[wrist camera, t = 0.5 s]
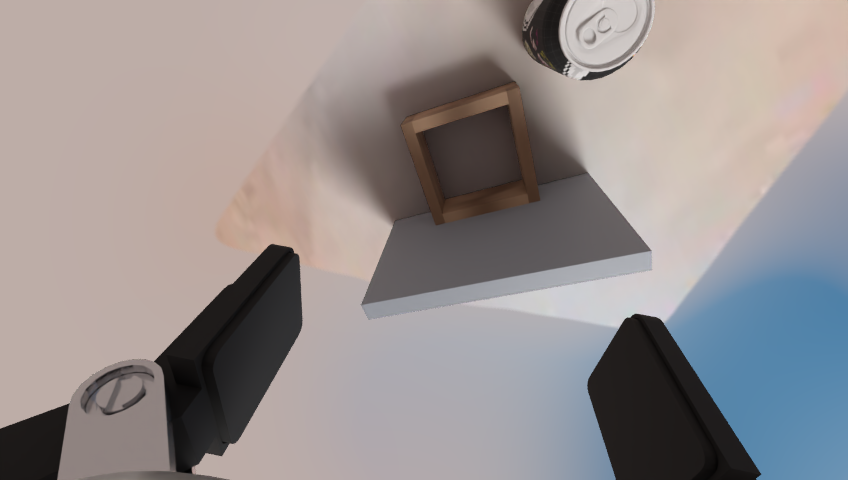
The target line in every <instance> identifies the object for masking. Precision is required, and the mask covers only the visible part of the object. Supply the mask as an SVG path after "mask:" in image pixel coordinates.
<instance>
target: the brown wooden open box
mask: <svg viewBox="0 0 848 480" xmlns="http://www.w3.org/2000/svg"><path fill="white" fill-rule="evenodd" d="M504 105H507V107H508V112H509V116H510V121H511V126H512V131H513V136H514V141H515V146H516V150H517V155H518V160H519V165H520V170H521V175H522V179H523V180H519V181H515V182H511V183H507V184H503V185H499V186H495V187H491V188H487V189H484V190H480V191H476V192H472V193H468V194H464V195H460V196H456V197H452V198H448V199H445V198H444V195H443V192H442V189H441V186H440V183H439V180H438V177H437V174H436V170H435V167H434V164H433V161H432V158H431V155H430V152H429V149H428V146H427V143H426V140H425V136H424V133H423V131H424V130H428V129H431V128H434V127H437V126H440V125H444V124H447V123H450V122H453V121H456V120H460V119H463V118H466V117H469V116H472V115H476V114H479V113H482V112H485V111H488V110H492V109H495V108H498V107H501V106H504ZM401 128H402V131H403V134H404V137H405V139H406V142H407V145H408V148H409V151H410V154H411V157H412V159H413V162H414V165H415V168H416V171H417V174H418V177H419V179H420V182H421V185H422V188H423V191H424V194H425V197H426V199H427V202H428V205H429V208H430V211H431V214H432V217H433V219H434V222H435V225H440V224H444V223H448V222H453V221H457V220H461V219H465V218H469V217H474V216H478V215H482V214H486V213H490V212H495V211H499V210H503V209H507V208H512V207H516V206H520V205H524V204H528V203H533V202H537V201H540V196H539V190H538V185H537V180H536V174H535V169H534V164H533V158H532V153H531V147H530V142H529V137H528V131H527V126H526V121H525V115H524V110H523V105H522V99H521V94H520V88H519V86H518V85H517V84H516V83H515V82H512V83H509V84H506V85H503V86H500V87H496V88H493V89H490V90H487V91H484V92H481V93H478V94H475V95H472V96H469V97H466V98H463V99H460V100H457V101H454V102H451V103H448V104H445V105H442V106H438V107H435V108H432V109H429V110H426V111H423V112H420V113H417V114H414V115H411V116H408V117H407V118H406V119H405V120H404V121H403V123H402V124H401Z"/></svg>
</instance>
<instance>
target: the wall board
mask: <svg viewBox="0 0 848 480" xmlns="http://www.w3.org/2000/svg"><path fill="white" fill-rule="evenodd" d="M538 190H539V196H540V201H537V202H533V203H528V204H524V205H520V206H516V207H512V208H507V209H503V210H499V211H495V212H490V213H486V214H482V215H478V216H474V217H469V218H465V219H461V220H457V221H453V222H448V223H444V224H440V225H435V222H434V219H433V217H432V214H431V212H429V213H425V214H421V215H417V216H412V217H408V218H404V219H400V220H396V221H395V223H394V225H393V228H392V230H391V233H390V235H389V238H388V240H387V242H386V245H385V247H384V250H383V252H382V255H381V257H380V260H379V262H378V265H377V267H376V270H375V272H374V274H373V277H372V279H371V282H370V284H369V287H368V289H367V292H366V294H365V297H364V299H363V302H362V304H361V306H362V308H363V310H364V312H365V314H366V316H367V317H368V319H375V318H380V317H386V316H392V315H397V314H403V313H409V312H415V311H421V310H427V309H432V308H438V307H444V306H450V305H455V304H461V303H467V302H472V301H478V300H484V299H490V298H495V297H501V296H507V295H513V294H518V293H524V292H530V291H536V290H541V289H547V288H553V287H558V286H564V285H570V284H576V283H581V282H587V281H593V280H599V279H604V278H610V277H616V276H622V275H627V274H633V273H639V272H644V271H650V270H652V251H651V250H650V248H649V247H648V246H647V245H646V243H645V242H644V241H643V240H642V239H641V237H640V236H639V235H638V234H637V232H636V231H635V230H634V229H633V227H632V226H631V225H630V224H629V223H628V221H627V220H626V219H625V218H624V216H623V215H622V214H621V213H620V211H619V210H618V209H617V208H616V207H615V205H614V204H613V203H612V202H611V200H610V199H609V198H608V197H607V195H606V194H605V193H604V192H603V191H602V189H601V188H600V187H599V186H598V184H597V183H596V182H595V181H594V179H593V178H592V177H591V176H590V175H589V173H585V174H581V175H577V176H573V177H569V178H565V179H561V180H557V181H553V182H549V183H545V184H541V185H538Z"/></svg>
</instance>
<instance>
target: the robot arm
mask: <svg viewBox="0 0 848 480" xmlns="http://www.w3.org/2000/svg"><path fill="white" fill-rule="evenodd" d="M301 327H302V303H301V283H300V261H299V255H298V254H295V253H294V251H293V249H292V248H290V247H285V246H280V245H275V244H271V245H269V246H268V247H267V248H266V249H265V250H264V251H263V252H262V254H261V255H260V256H259V257H258V258H257V259H256V260H255V261H254V262H253V263H252V264H251V265H250V266H249V267H248V268H247V270H246V271H245V272H244V273H243V274H242V275H241V276H240V277H239V278H238V279H237V280H236V281H235V282H234V283H233V284H231V285H228V286H227V287H226V288H224V289H223V290H222V291H221V292H220V293H219V295H218V296H217V297H216V298H215V299H214V300H213V301H212V302H211V303H210V304H209V305H208V306H207V307H206V308H205V309H204V310H203V311H202V312H201V313H200V314H199V315H198V316H197V317H196V318H195V320H193V322H192V323H191V324H190V325H189V326H188V327H187V328H186V329H185V330H184V331H183V332H182V333H181V334H180V335H179V336H178V337H177V338H176V339H175V340H174V341H173V342H172V343H171V344H170V346H169V347H168V348H167V349H166V350H165V351H164V352H163V353H162V354H161V355H160V356H159V357H158V358H157V359H156V360H155V361H154V362H153V361H149V360H146V359H132V360H128V361H122V362H118V363H116V364H113V365H110V366H108V367H105V368H104V369H102V370H100V371H98V372H97V373H95V374H93V375H92V376H91V377H89V378H88V379H87V380H86V381H85V382H83V383H82V384H81V385H80V386H79V388H78V389H77V390H76V392H75V393H74V394H73V396H72V399H71V401H70V403H69V404H67V405H64V406H61V407H58V408H56V409H53V410H50V411H47V412H45V413H42V414H39V415H36V416H34V417H31V418H29V419H26V420H23V421H20V422H17V423H15V424H12V425H9V426H6V427H4V428H1V429H0V480H227V479H222V478H217V477H211V476H204V475H196V469H195V465H197V464H199V462H200V461H201V459H202V458H203V456H204V455H205V453H209V454H214V455H219V456H222V455H223V453H224V452H225V450H226V449H227V447H228V445H229V443H232V444H234V443H236V442H237V441H238V440H239V438H240V437H241V435H242V433H243V431H244V430H245V428H246V426H247V424H248V423H249V421H250V419H251V417H252V416H253V414H254V412H255V410H256V409H257V407H258V405H259V403H260V401H261V400H262V398H263V396H264V395H265V393H266V391H267V389H268V388H269V386H270V384H271V382H272V381H273V379H274V377H275V375H276V374H277V372H278V370H279V368H280V367H281V365H282V363H283V361H284V360H285V358H286V356H287V354H288V353H289V351H290V349H291V347H292V346H293V344H294V342H295V340H296V338H297V337H298V335H299V333H300V331H301ZM587 386H588V393H589V395H590V399H591V402H592V405H593V408H594V411H595V414H596V418H597V421H598V424H599V427H600V430H601V433H602V437H603V440H604V443H605V446H606V449H607V452H608V456H609V458H610V462H611V464H612V468H613V471H614V474H615V477H616V480H756V478H757V477H759V476H760V475H761V473H760V472H759V470H758V469H757V467H756V466H755V464H754V462H753V461H752V459H751V458H750V456H749V455H748V453H747V452H746V450H745V448H744V447H743V445H742V444H741V442H740V441H739V439H738V438H737V436H736V435H735V433H734V431H733V430H732V428H731V427H730V425H729V424H728V422H727V421H726V419H725V418H724V416H723V414H722V413H721V411H720V410H719V408H718V407H717V405H716V404H715V402H714V401H713V399H712V397H711V396H710V394H709V393H708V392H707V390H706V388H705V387H704V385H703V384H702V382H701V381H700V379H699V377H698V376H697V374H696V373H695V371H694V370H693V368H692V367H691V365H690V364H689V362H688V361H687V359H686V357H685V356H684V354H683V353H682V351H681V350H680V348H679V347H678V345H677V343H676V342H675V340H674V339H673V337H672V336H671V334H670V333H669V331H668V330H667V328H666V326H665V325H664V323H663V322H662V321H661V320H660V319H659V318H657V317H651V316H646V315H641V314H634V315H632V316H631V318H626V319H625V320H624V321H623V323H622V325H621V326H620V328H619V330H618V331H617V333H616V335H615V336H614V338H613V339H612V341H611V343H610V344H609V346H608V348H607V349H606V351H605V353H604V354H603V356H602V358H601V359H600V361H599V362H598V364H597V366H596V367H595V369H594V371H593V372H592V374H591V376H590V377H589V379H588V385H587Z"/></svg>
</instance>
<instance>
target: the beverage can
mask: <svg viewBox="0 0 848 480" xmlns="http://www.w3.org/2000/svg"><path fill="white" fill-rule="evenodd" d="M654 13H655V2H654V0H533V1H532V2H531V4H530V5H529V7H528V9H527V11H526V14H525V17H524V20H523V27H522V37H523V42H524V46H525V48H526V50H527V52H528V54H529V55H530V56H531V57H532V58H533V59H534V60H535V61H537V62H538V63H540V64H542V65H544V66H546V67H548V68H550V69H552V70H554V71H556V72H558V73H560V74H562V75H565V76H567V77H569V78H572V79H577V80H593V79H598V78H602V77H604V76H607V75H609V74H611V73H613V72H615V71H616V70H618V69H620V68H621V67H623V66H624V65H625V64H626V63H627V62H628V61H630V60H631V59H632V58H633V56H634V55H635V54H636V53H637V52H638V51H639V49H640V48H641V46H642V44H643V43H644V41H645V40H646V38H647V36H648V34H649V32H650V29H651V27H652V23H653V19H654Z"/></svg>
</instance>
